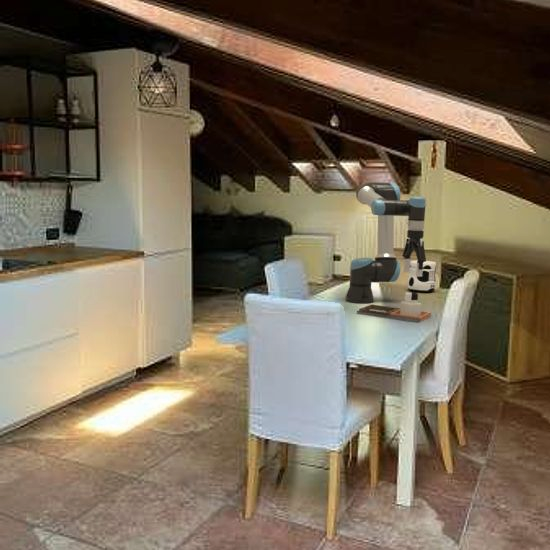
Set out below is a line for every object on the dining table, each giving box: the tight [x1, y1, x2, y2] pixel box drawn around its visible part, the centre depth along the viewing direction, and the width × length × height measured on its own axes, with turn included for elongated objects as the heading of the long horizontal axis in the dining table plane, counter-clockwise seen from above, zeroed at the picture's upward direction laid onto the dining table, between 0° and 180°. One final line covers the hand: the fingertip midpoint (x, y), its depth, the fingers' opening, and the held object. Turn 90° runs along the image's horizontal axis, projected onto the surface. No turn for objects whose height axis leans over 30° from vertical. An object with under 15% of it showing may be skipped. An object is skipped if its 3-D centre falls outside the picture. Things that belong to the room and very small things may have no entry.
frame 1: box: [358, 304, 400, 315], centre depth 300 cm, size 15×15×2 cm
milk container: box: [406, 259, 437, 293], centre depth 369 cm, size 17×17×18 cm
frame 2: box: [390, 308, 432, 323], centre depth 292 cm, size 15×15×2 cm
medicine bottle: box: [399, 291, 422, 317], centre depth 291 cm, size 7×7×12 cm
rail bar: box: [356, 310, 421, 323], centre depth 288 cm, size 2×31×1 cm, turn 58°
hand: (412, 274), depth 289 cm, fingers open, 13 cm apart
